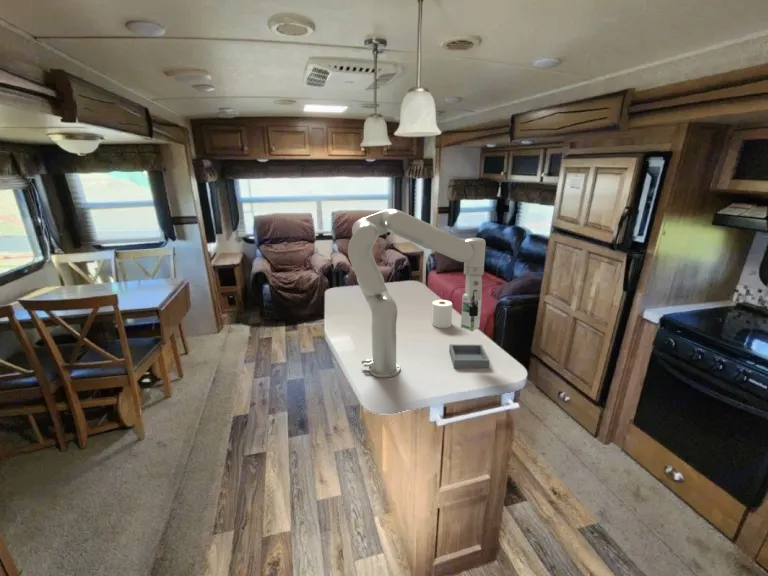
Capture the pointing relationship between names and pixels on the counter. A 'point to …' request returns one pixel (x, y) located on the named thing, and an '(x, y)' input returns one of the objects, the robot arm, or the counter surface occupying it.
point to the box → (468, 356)
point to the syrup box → (466, 320)
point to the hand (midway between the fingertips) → (471, 311)
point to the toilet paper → (441, 313)
